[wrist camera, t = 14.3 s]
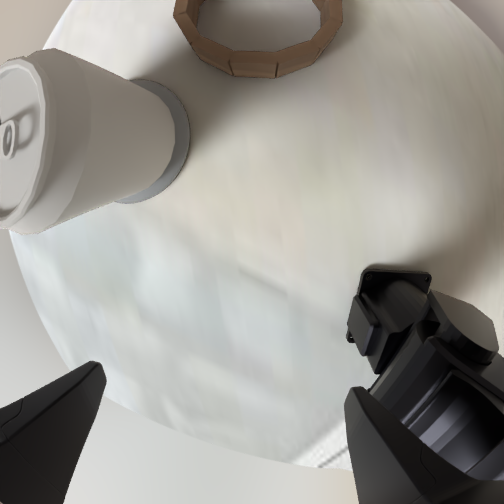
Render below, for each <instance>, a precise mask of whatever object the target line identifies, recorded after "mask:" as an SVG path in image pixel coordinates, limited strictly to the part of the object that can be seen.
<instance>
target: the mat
mask: <svg viewBox="0 0 504 504" xmlns="http://www.w3.org/2000/svg"><path fill="white" fill-rule="evenodd" d="M130 82H132V83H134V84H136V85H138V86H140V87H142V88H144V89H146V90H148V91H150V92H152V93H153V94H155V95H157V96H159V97H160V99H161V100H162V101H163V102H164V103H165V104H166V106H167V107H168V108H169V110H170V113H171V116H172V119H173V121H174V124H175V144H174V148H173V152H172V156H171V160H170V162H169V163H168V165H167V167H166V168H165V170H164V172H163V174H162V175H161V176H160V177H159V178H158V179H157V180H156V181H155V182H154V183H153V184H152V185H151V186H150V187H149V188H147V189H145V190H142V191H140V192H138V193H136V194H134V195H131V196H128V197H126V198H123V199H120V200H117V201H115V202H117V203H125V204H129V203H137V202H141V201H144V200H147V199H149V198H152V197H153V196H155V195H157V194H159V193H160V192H162V191H163V190H164V189H165V188H166V187H168V186H169V185H170V184H171V183H172V181H173V180H174V179H175V178H176V176H177V175H178V173H179V172H180V170H181V168H182V166H183V164H184V162H185V159H186V157H187V153H188V149H189V143H190V126H189V120H188V117H187V113H186V111H185V109H184V106H183V105H182V103H181V102H180V100H179V99H178V98H177V97H176V95H175V94H174V93H172V92H171V91H170V90H169V89H167V88H166V87H164V86H162V85H161V84H158V83H156V82H153V81H148V80H130Z"/></svg>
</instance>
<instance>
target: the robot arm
mask: <svg viewBox="0 0 504 504" xmlns="http://www.w3.org/2000/svg"><path fill="white" fill-rule="evenodd" d="M368 274H370V277H369V278H366V276H367V275H368ZM426 277H427V279H426V280H425V278H426ZM431 279H432V277H431V275H430V274H429V273H427V272H415V271H397V270H379V269H366V270H364V271H363V272H362V274H361V278H360V283H359V287H358V292H357V295H355V297H354V298H353V302H352V306H351V310H350V314H349V318H348V322H347V325H348V331H347V334H346V338H347V341H348V342H349V343H356V345H357V348H358V350H359V352H360V354H361V355H362V356H367V358H368V360H369V363H370V365H371V367H372V369H373V372H374V374H380V376H379V377H378V378H377V380H376V381H375V382H374V384H373V385H372V386H371V388H369V389H367V390H366V389H365V388H363V387H361V386H359V387H352V388H351V389H350V390H349V393H348V395H347V398H346V400H345V403H344V411H345V422H346V433H347V443H348V448H349V453H350V458H351V463H352V468H353V473H354V478H355V484H356V489H357V495H358V500H359V504H504V358H503V357H502V356H501V355H500V354H499V353H498V350H499V346H498V341H497V336H496V332H495V328H494V324H493V321H492V320H491V319H490V318H489V317H487V316H486V315H485V314H484V313H482V312H481V311H480V310H478V309H477V308H476V307H474V306H473V305H471V304H469V303H466V302H464V301H461V300H458V299H456V298H453V297H450V296H448V295H445V294H442V293H439V292H437V291H434V290H430V292H429V294H427V293H428V289H429V286H430V283H431ZM351 336H353V338H350V337H351ZM106 382H107V380H106V376H105V373H104V370H103V367H102V365H101V363H99V362H95V361H89V362H87V363H85V364H84V365H82V366H80V367H78V368H76V369H75V370H73V371H71V372H69V373H68V374H66V375H64V376H62V377H60V378H58V379H56V380H55V381H53V382H51V383H50V384H48V385H45V386H44V387H42V388H40V389H38V390H36V391H34V392H32V393H31V394H29V395H27V396H25V397H24V398H21V399H19V400H17V401H16V402H13V403H11V404H10V405H7V406H5V407H3V408H0V504H63V503H64V499H65V495H66V493H67V490H68V487H69V484H70V481H71V478H72V476H73V473H74V470H75V467H76V465H77V462H78V459H79V457H80V454H81V452H82V449H83V446H84V444H85V442H86V439H87V437H88V434H89V431H90V429H91V427H92V424H93V422H94V420H95V417H96V415H97V412H98V409H99V405H100V402H101V399H102V395H103V392H104V389H105V386H106Z"/></svg>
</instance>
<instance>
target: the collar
mask: <svg viewBox="0 0 504 504" xmlns="http://www.w3.org/2000/svg"><path fill="white" fill-rule="evenodd" d="M204 1H205V0H176V3H175V7H174V12H173V16H174V19H175V21H176V22H177V24H178V25H179V27H180V29H181V30H182V32H183V34H184V35H185V37H186V39H187V40H188V42H189V44H190V45H191V47H192V48H193V50H194V51H195V52H196V54H197V55H198V57H199V58H200V59H201V60H202V61H204V62H206V63H208V64H210V65H212V66H214V67H216V68H218V69H220V70H222V71H224V72H226V73H228V74H230V75H232V76H233V75H234V76H235V77H259V78H274V79H275V77H276V78H278V77H281V76H283V75H286V74H288V73H291V72H294V71H296V70H299V69H302V68H305V67H307V66H310V65H311V64H313V63H314V62H315V60H316V59H317V58H318V57H319V55H320V54H321V53H322V52H323V50H324V49H325V48H326V47H327V45H328V44H329V43H330V42H331V41H332V39H333V37H334V36H335V34H336V33H337V31H338V30H339V28H340V26H341V25H342V23H343V16H342V0H312V1H313V2H314V4H315V5H316V6H317V8H318V9H319V10H320V12H321V28H320V30H319V31H318V32H317V33H316V34H315V35H314V37H313V38H312V39H311V40H309V41H306V42H303V43H300V44H297V45H294V46H291V47H288V48H285V49H283V50H280V51H277V52H260V51H233V50H231V49H229V48H227V47H225V46H223V45H220V44H218V43H216V42H214V41H212V40H209V39H207V38H205V37H203V36H201V35H200V34H199V32H198V31H197V29H196V28H197V21H198V14H199V8H200V6H201V5H202V4H203V3H204Z"/></svg>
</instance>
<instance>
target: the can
mask: <svg viewBox="0 0 504 504" xmlns="http://www.w3.org/2000/svg"><path fill="white" fill-rule="evenodd" d="M174 144H175V124H174V121H173V119H172V116H171V113H170V110H169V108H168V107H167V106H166V104H165V103H164V102H163V101H162V100H161V99H160V97H159V96H157V95H155V94H153V93H152V92H150V91H148V90H146V89H144V88H142V87H140V86H138V85H136V84H134V83H132V82H130V81H128V80H126V79H124V78H122V77H120V76H118V75H116V74H114V73H112V72H110V71H107V70H105V69H103V68H101V67H99V66H96V65H94V64H92V63H90V62H87V61H85V60H83V59H80V58H78V57H76V56H73V55H71V54H68V53H66V52H63V51H61V50H58V49H56V48H52V49H46V50H40V51H36V52H34V53H32V54H31V55H29V56H27V57H24V56H22V57H18V58H14V59H9V60H7V61H6V62H5V63H3V64H2V65H1V66H0V229H6V228H7V229H9V230H11V231H14V232H16V233H18V234H20V235H27V234H37V233H40V232H43V231H45V230H47V229H49V228H51V227H54V226H56V225H58V224H60V223H63V222H65V221H67V220H70V219H72V218H74V217H77V216H79V215H82V214H84V213H86V212H89V211H91V210H94V209H96V208H99V207H102V206H104V205H107V204H109V203H112V202H115V201H117V200H120V199H123V198H126V197H128V196H131V195H134V194H136V193H138V192H140V191H142V190H145V189H147V188H149V187H150V186H151V185H152V184H153V183H154V182H155V181H156V180H157V179H158V178H159V177H160V176H161V175H162V174H163V172H164V170H165V168H166V167H167V165H168V163H169V162H170V160H171V156H172V152H173V148H174Z"/></svg>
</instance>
